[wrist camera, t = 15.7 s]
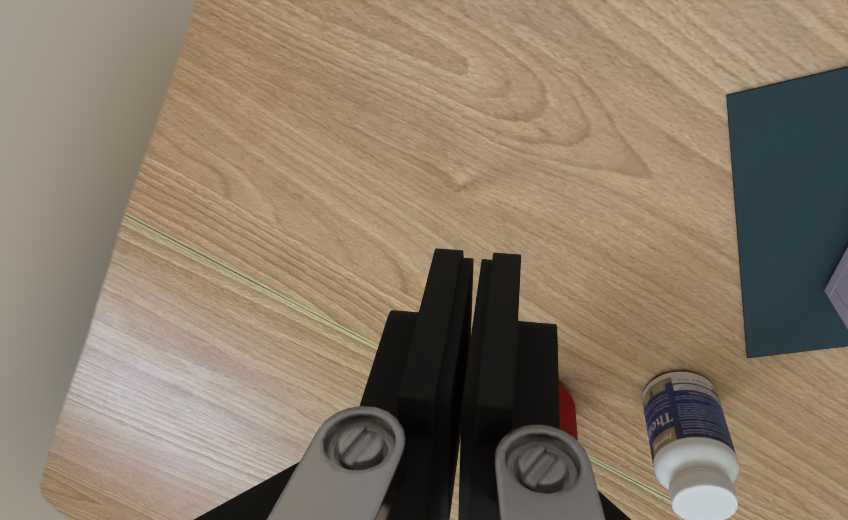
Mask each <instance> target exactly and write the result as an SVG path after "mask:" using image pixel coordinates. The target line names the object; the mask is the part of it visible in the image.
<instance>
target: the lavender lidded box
mask: <svg viewBox="0 0 848 520" xmlns="http://www.w3.org/2000/svg"><path fill="white" fill-rule="evenodd" d="M825 293H826V294H827V296H828V298H829V299H830V301H831V302H832V304H833V306H834V307H835V309H836V311H837V312H838V314H839V316H840V317H841V319H842V321H843V322H844V324H845V325H846V327H847V329H848V247H847V249H846V251H845V253H844V255H843V257H842V259H841V261H840V262H839V264H838V266H837V268H836V270H835V272H834V274H833V276H832V277H831V279H830V281H829V283H828V285H827V287H826V289H825Z"/></svg>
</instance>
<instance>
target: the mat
mask: <svg viewBox="0 0 848 520" xmlns="http://www.w3.org/2000/svg"><path fill="white" fill-rule="evenodd" d="M727 108H728V121H729V134H730V147H731V159H732V172H733V185H734V198H735V211H736V223H737V236H738V249H739V262H740V275H741V287H742V300H743V313H744V326H745V339H746V351H747V358H754V357H763V356H771V355H779V354H788V353H796V352H804V351H812V350H821V349H829V348H837V347H846V346H848V329H847V327H846V325H845V324H844V322H843V321H842V319H841V317H840V316H839V314H838V312H837V311H836V309H835V307H834V306H833V304H832V302H831V301H830V299H829V298H828V296H827V294H826V293H825V289H826V287H827V285H828V283H829V281H830V279H831V277H832V276H833V274H834V272H835V270H836V268H837V266H838V264H839V262H840V261H841V259H842V257H843V255H844V253H845V251H846V249H847V247H848V67H844V68H840V69H836V70H832V71H827V72H823V73H819V74H815V75H810V76H806V77H802V78H798V79H793V80H789V81H785V82H780V83H776V84H772V85H768V86H763V87H759V88H755V89H751V90H746V91H742V92H738V93H734V94H729V95H727Z"/></svg>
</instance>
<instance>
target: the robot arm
mask: <svg viewBox="0 0 848 520" xmlns="http://www.w3.org/2000/svg"><path fill="white" fill-rule="evenodd" d="M520 269H521V255H519V254H506V253H493V260H487V259H482V262H481V269H480V276H479V283H478V290H477V297H476V304H475V312H474V319H473V326H472V333H471V318H472V290H473V258H464V255H463V250H450V249H437V248H436V249H435V251H434V255H433V259H432V263H431V267H430V271H429V275H428V279H427V283H426V287H425V291H424V294H423V298H422V302H421V306H420V310H419V312H408V311H396V310H391V311H390V313H389V315H388V318H387V321H386V324H385V327H384V331H383V334H382V337H381V340H380V343H379V346H378V350H377V353H376V356H375V359H374V362H373V365H372V369H371V372H370V375H369V378H368V381H367V384H366V388H365V391H364V394H363V397H362V400H361V403H360V406H359V407H352V408H348V409H345V410H342V411H340V412H337V413H335V414H334V415H333V416H331V417H330V418H328V419H327V420H326V421H325V422H324V423H323V424H322V426H321V427H320V428H319V429H318V431H317V433H316V434H315V436H314V438H313V440H312V441H311V443H310V445H309V447H308V448H307V450H306V452H305V454H304V455H303V457H302V459H301V460H300V462H298V463H296V464H295V465H293V466H291V467H289V468H287V469H285V470H284V471H282V472H280V473H278V474H276V475H274V476H273V477H271V478H269V479H267V480H265V481H264V482H262V483H260V484H258V485H256V486H254V487H253V488H251V489H249V490H247V491H245V492H243V493H242V494H240V495H238V496H236V497H234V498H233V499H231V500H229V501H227V502H225V503H223V504H222V505H220V506H218V507H216V508H214V509H212V510H211V511H209V512H207V513H205V514H203V515H201V516H200V517H198V518H196V519H194V520H449V518H450V511H451V504H452V496H453V489H454V482H455V474H456V467H457V459H458V452H459V444H460V437H461V446H460V481H459V517H458V520H631V519H630V518H629V517H627V516H626V515H625V514H624V513H623V512H622V511H621V510H620V509H618V508H617V507H616V506H615V505H614V504H613V503H612V502H611V501H609V500H608V499H607V498H606V497H605V496H604V495H603V494H602V493H600V492H599V491H598V489H597V486H596V482H595V478H594V474H593V470H592V466H591V462H590V460H589V457H588V455H587V453H586V451H585V449H584V448H583V447H582V446H581V444H580V443H579V442H578V441H577V440H576V439H575V438H573V437H572V436H570V435H569V434H567V433H566V432H564V431H562V430H560V408H559V374H558V340H557V325H556V324H547V323H535V322H523V321H518V309H519V289H520Z"/></svg>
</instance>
